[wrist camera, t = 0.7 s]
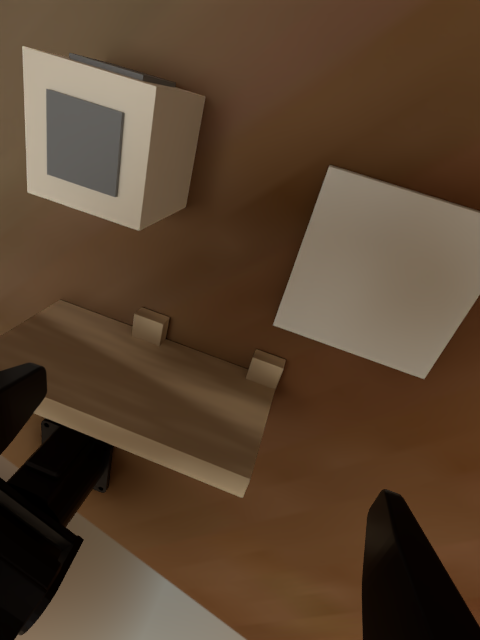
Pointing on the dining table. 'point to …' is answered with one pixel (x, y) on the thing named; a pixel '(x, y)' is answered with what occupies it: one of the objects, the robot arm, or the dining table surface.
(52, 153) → the cream grey-paneled cube
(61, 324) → the oak screen
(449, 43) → the dining table surface
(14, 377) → the robot arm
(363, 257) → the cream square tile
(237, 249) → the dining table surface
